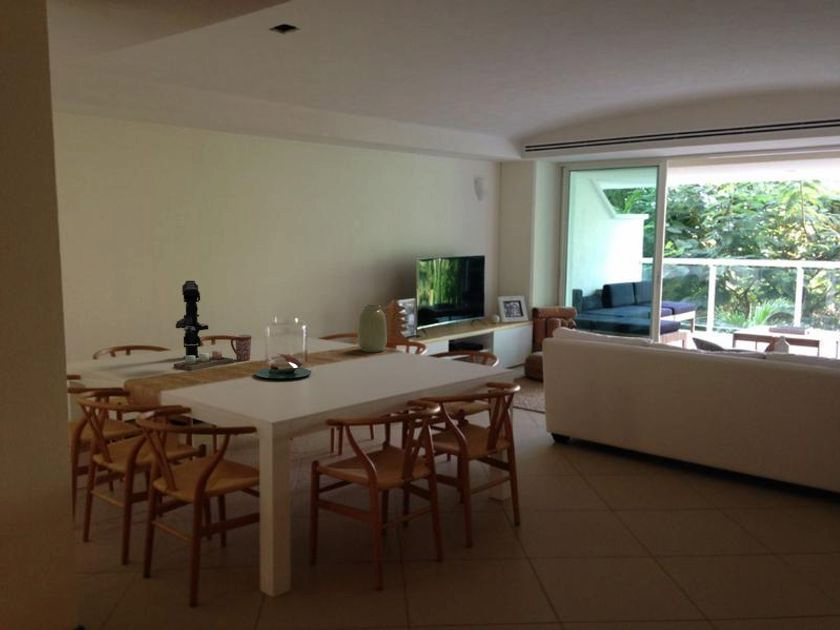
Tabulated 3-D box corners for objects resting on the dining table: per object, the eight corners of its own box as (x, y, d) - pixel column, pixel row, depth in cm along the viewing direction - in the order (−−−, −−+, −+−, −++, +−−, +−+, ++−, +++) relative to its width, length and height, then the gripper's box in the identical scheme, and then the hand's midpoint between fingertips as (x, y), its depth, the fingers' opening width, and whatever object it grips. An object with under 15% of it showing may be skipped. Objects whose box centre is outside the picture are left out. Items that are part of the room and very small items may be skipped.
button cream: (197, 361, 388) (197, 353, 388) (204, 359, 392) (204, 352, 392) (203, 362, 386) (203, 354, 385) (211, 361, 390) (210, 353, 389)
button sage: (183, 363, 381) (183, 356, 380) (191, 362, 385) (190, 355, 384) (190, 365, 378) (189, 357, 378) (197, 363, 382) (197, 356, 382)
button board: (173, 367, 381) (173, 363, 381) (215, 359, 405) (215, 355, 405) (192, 370, 374) (192, 366, 374) (233, 362, 397) (233, 358, 397)
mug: (255, 359, 407) (255, 335, 406) (244, 361, 399) (244, 337, 398) (237, 357, 413) (237, 333, 411) (226, 359, 405) (226, 335, 403)
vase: (385, 353, 433) (386, 307, 430) (356, 352, 433) (356, 307, 430) (387, 348, 450) (387, 304, 447) (359, 347, 451) (359, 303, 447)
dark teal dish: (312, 381, 354) (312, 358, 353) (252, 382, 350) (252, 359, 348) (311, 369, 382) (311, 348, 380) (256, 370, 377) (255, 349, 376)
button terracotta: (210, 358, 396) (210, 351, 395) (217, 357, 400) (217, 350, 400) (216, 359, 393) (216, 352, 393) (223, 358, 397) (223, 351, 397)
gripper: (166, 313, 379) (167, 343, 380) (191, 315, 369) (192, 345, 370) (183, 311, 388) (184, 340, 390) (208, 313, 378) (209, 343, 380)
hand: (192, 342), depth 382 cm, fingers closed
